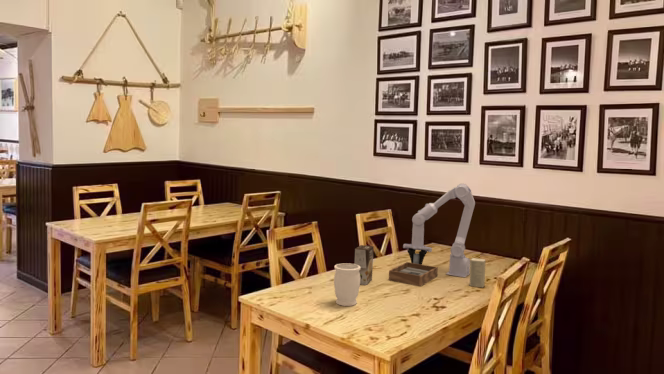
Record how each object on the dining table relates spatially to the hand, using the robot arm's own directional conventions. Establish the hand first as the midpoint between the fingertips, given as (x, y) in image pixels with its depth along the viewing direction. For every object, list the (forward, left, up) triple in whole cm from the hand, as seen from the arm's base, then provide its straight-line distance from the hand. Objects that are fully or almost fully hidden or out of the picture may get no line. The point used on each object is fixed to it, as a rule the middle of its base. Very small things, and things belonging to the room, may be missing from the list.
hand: (416, 264), depth 266 cm
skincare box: (-33, +8, -3) cm, 34 cm away
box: (-5, +15, -3) cm, 16 cm away
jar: (+2, +65, -3) cm, 65 cm away
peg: (0, 0, -2) cm, 2 cm away
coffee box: (+11, +35, -3) cm, 37 cm away
